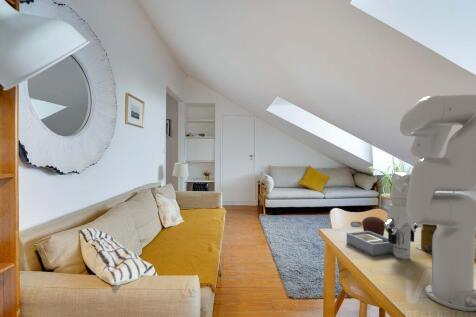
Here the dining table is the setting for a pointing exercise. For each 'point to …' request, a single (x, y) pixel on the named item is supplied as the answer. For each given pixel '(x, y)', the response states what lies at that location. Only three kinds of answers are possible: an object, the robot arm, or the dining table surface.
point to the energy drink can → (402, 242)
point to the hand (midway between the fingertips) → (401, 241)
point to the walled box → (370, 243)
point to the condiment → (427, 237)
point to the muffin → (374, 225)
